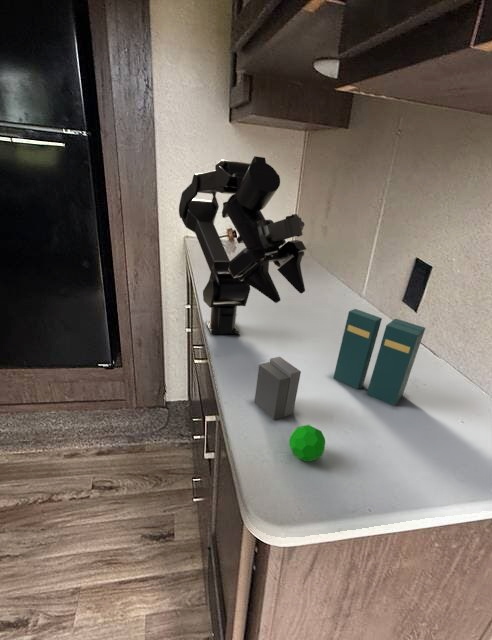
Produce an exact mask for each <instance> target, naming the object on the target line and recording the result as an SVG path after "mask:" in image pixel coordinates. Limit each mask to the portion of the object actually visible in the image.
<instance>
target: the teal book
mask: <svg viewBox="0 0 492 640" xmlns="http://www.w3.org/2000/svg"><path fill="white" fill-rule="evenodd" d="M382 321H383V318H382V317H379V316H377V315H374V314H371V313H368V312H366V311H363V310H360V309H358V308H354V309H351V310H349V311H348V314H347V318H346V323H345V327H344V330H343V335H342V339H341V343H340V348H339V351H338V356H337V360H336V365H335V369H334V374H333V377H332V378H333V379H335V380H336V381H339V382H341V383H343V384H345V385H347V386H350V387H351V388H354V389H356V390H359V389H361V388H362V387H363V386H364V384H365V380H366V377H367V374H368V370H369V366H370V362H371V360H372V359H371V358H372V355H373V352H374V350H375V349H374V348H375V344H376V341H377V337H378V334H379V331H380V327H381V323H382Z"/></svg>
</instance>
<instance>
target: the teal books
mask: <svg viewBox="0 0 492 640" xmlns="http://www.w3.org/2000/svg"><path fill="white" fill-rule="evenodd" d="M425 331H426V327H424V326H421V325H418V324H415V323H411V322H408V321H405V320H402V319H399V318H394V319H393V320H391V321H390V322H389V323H387V324H386V325H385V329H384V331H383V332H384V333H383V335H382V339H381V342H380V345H379V348H378V349H379V350H378V352H377V356H376V360H375V363H374V368H373V371H372V374H371V378H370V381H369V385H368V388H367V392H366V395H367V396H370V397H372V398H375V399H377V400H379V401H382V402H384V403H387V404H389V405H392V406H396V405H397V403H398V402H399V401H400V400H401V399H402V397H403V396H404V393H405V390H406V387H407V384H408V381H409V378H410V374H411V372H412V369H413V366H414V363H415V360H416V358H417V355H418V352H419V349H420V346H421V343H422V339H423V336H424V334H425Z"/></svg>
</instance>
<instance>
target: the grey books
mask: <svg viewBox="0 0 492 640" xmlns="http://www.w3.org/2000/svg"><path fill="white" fill-rule="evenodd" d="M301 373H302V371H301V370H299V368H297V367H296V366H294V365H293V364H292V363H290V362H288V361H287V360H285V359H284V358H283V357H282V356H276V357H275V356H274V357H271V358H270V359H269V361H267V362H263V363H258V370H257V379H256V387H255V393H254V401H253V403H254V405H256V406H257V407H258V408H260V409H261V410H262V412H264V413H265V414H266V415H267V416H269V418H270V419H271V420H273V421H274V420H277V419H280V418H283V417H288V416H290V415H293V414H294V410H295V405H296V400H297V394H298V390H299V384H300V378H301Z"/></svg>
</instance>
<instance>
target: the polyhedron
mask: <svg viewBox="0 0 492 640" xmlns="http://www.w3.org/2000/svg"><path fill="white" fill-rule="evenodd" d="M288 445H289V448H290V450H291V452H292V454H293V456H294V457H296V458H298V459H299V460H301V461H304V462H313V461H315V460H318V459H320V457H321V456H322V455H323V454H324V452H325V448H326V438H325V435H324V434H323V432H322V430H320V429H318V428H316V427H314V426H312V425H310V424H305V425H301V426H298V427H296V428H295V429H294V430H293V431H292V432H291V434H290V436H289V442H288Z"/></svg>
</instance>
